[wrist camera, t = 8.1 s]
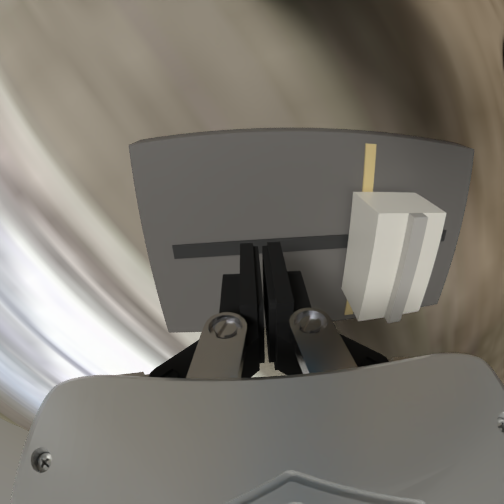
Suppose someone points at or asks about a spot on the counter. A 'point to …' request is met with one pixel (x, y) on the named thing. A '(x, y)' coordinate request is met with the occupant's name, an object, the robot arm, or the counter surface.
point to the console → (280, 206)
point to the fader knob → (390, 253)
